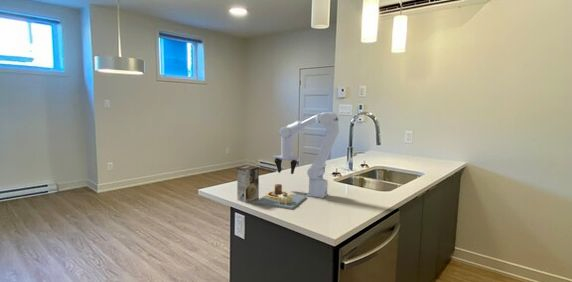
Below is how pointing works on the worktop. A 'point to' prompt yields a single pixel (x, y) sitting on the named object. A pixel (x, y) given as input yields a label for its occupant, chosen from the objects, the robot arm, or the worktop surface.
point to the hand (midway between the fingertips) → (285, 173)
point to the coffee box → (247, 183)
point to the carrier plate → (275, 203)
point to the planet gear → (277, 190)
